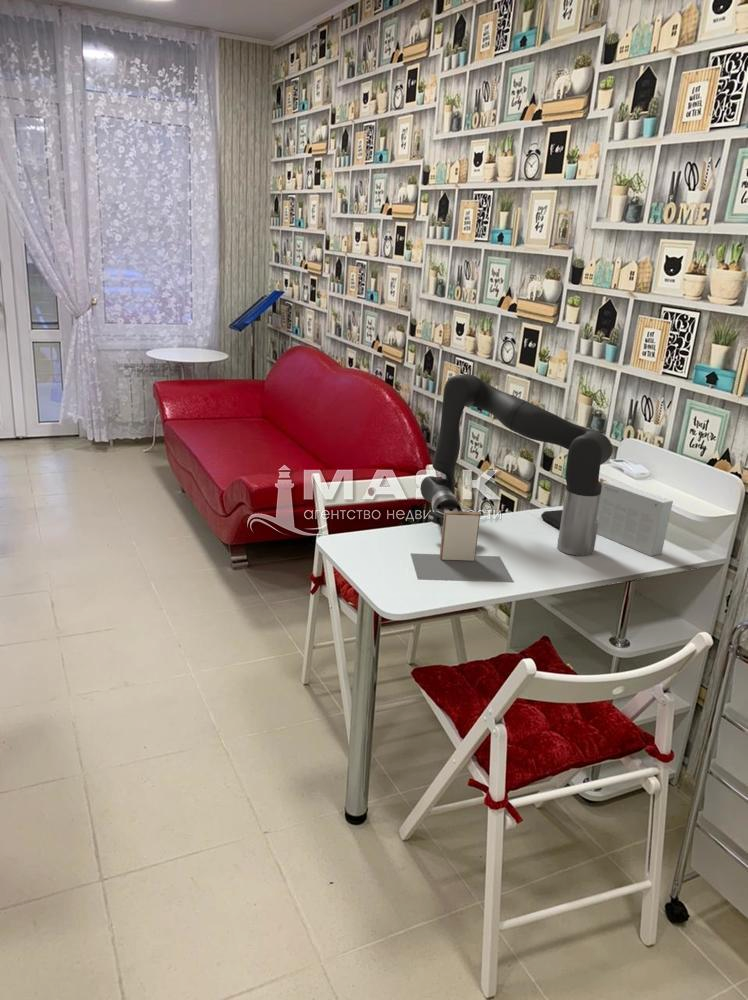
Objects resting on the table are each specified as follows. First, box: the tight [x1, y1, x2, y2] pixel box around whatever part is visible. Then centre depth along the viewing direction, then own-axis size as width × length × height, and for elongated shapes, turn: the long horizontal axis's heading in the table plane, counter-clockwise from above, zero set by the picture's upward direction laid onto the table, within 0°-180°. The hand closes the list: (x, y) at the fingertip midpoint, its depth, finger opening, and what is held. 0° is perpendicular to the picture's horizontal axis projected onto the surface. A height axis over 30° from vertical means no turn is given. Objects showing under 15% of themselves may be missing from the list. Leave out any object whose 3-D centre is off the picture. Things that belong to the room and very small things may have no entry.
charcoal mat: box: [410, 552, 515, 583], centre depth 192 cm, size 24×16×1 cm, turn 94°
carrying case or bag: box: [540, 509, 563, 531], centre depth 229 cm, size 11×3×15 cm
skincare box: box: [596, 480, 674, 557], centre depth 216 cm, size 21×6×16 cm, turn 35°
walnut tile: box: [439, 510, 481, 561], centre depth 195 cm, size 9×2×13 cm, turn 94°
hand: (455, 528), depth 200 cm, fingers closed
